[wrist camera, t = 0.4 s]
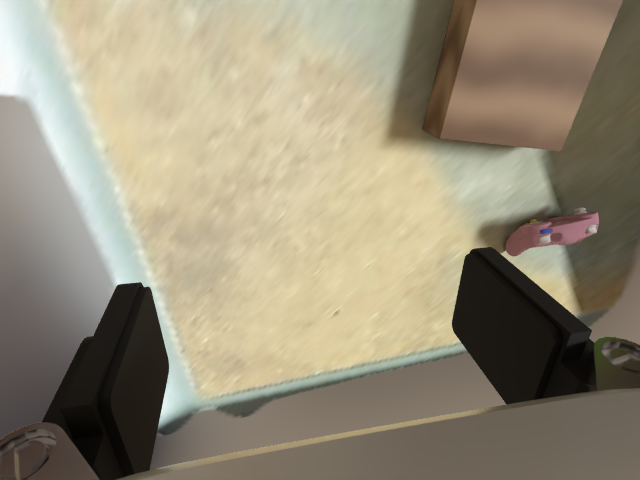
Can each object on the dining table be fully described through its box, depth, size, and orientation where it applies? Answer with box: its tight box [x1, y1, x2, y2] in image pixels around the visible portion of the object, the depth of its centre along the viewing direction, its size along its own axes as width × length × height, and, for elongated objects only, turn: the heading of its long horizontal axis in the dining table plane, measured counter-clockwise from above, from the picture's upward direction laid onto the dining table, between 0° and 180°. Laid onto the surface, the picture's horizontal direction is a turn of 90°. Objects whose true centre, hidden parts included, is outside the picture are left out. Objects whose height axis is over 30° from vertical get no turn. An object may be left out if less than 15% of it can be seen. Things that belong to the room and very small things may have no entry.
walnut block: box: [423, 0, 623, 151], centre depth 38 cm, size 14×14×4 cm
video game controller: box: [505, 208, 599, 256], centre depth 48 cm, size 10×5×7 cm, turn 97°
